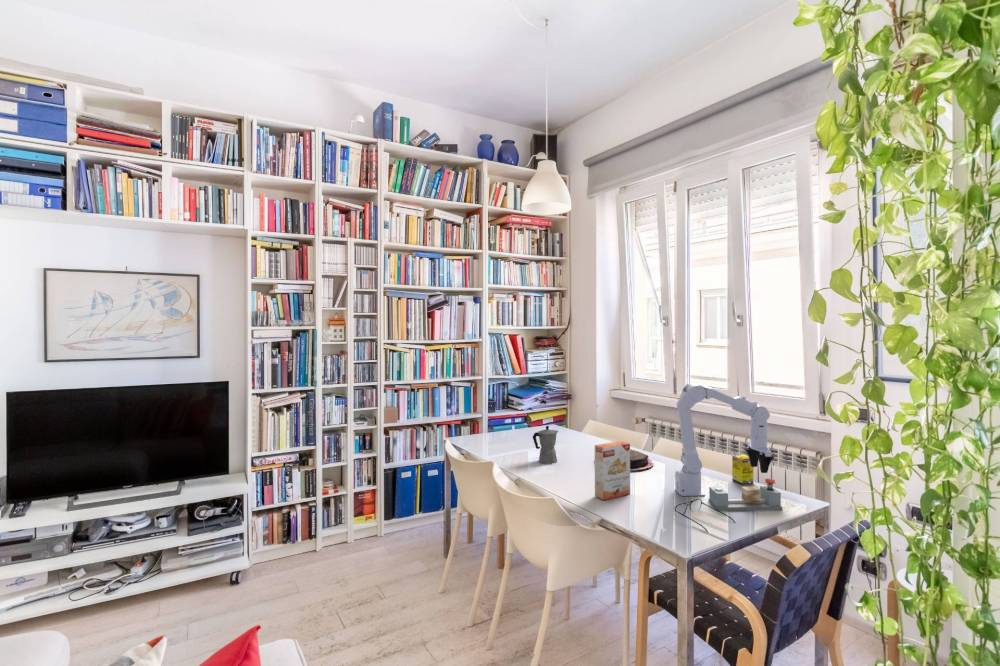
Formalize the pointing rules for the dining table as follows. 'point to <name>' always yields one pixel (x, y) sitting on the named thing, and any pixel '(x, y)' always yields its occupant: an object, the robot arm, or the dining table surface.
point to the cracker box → (612, 470)
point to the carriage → (751, 495)
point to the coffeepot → (546, 445)
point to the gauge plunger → (770, 484)
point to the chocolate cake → (639, 461)
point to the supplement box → (742, 469)
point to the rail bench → (723, 503)
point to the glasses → (699, 508)
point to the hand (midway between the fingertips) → (759, 469)
